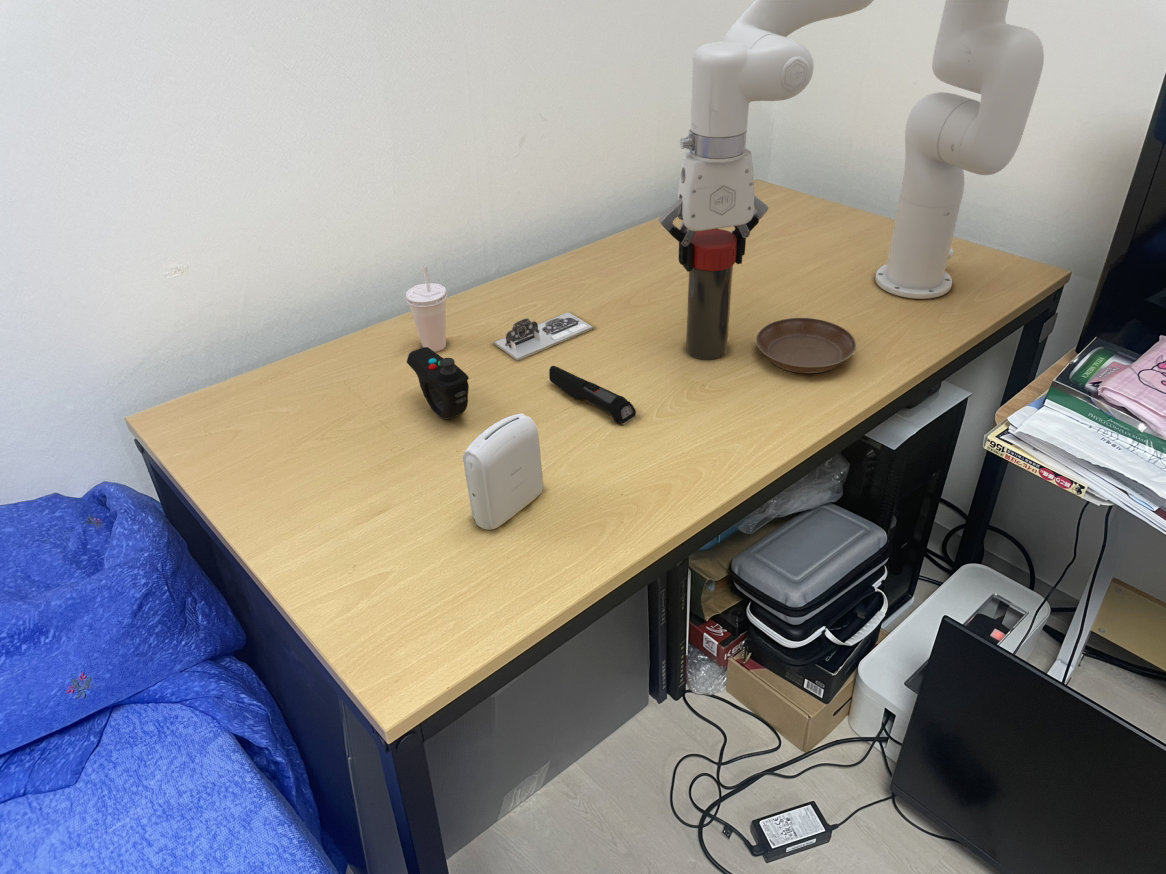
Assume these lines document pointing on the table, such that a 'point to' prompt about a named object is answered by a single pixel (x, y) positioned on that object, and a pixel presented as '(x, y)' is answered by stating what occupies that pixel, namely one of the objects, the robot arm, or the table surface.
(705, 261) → the lid
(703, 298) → the thermos
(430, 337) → the smoothie
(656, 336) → the table surface
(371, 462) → the table surface
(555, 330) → the car cutout
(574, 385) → the electric trimmer
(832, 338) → the saucer
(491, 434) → the photo printer
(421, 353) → the controller
